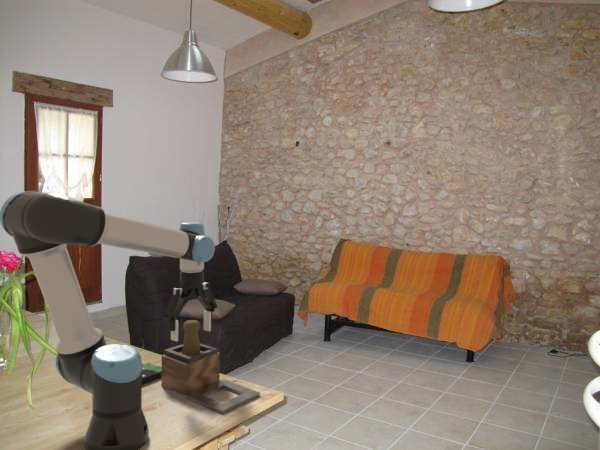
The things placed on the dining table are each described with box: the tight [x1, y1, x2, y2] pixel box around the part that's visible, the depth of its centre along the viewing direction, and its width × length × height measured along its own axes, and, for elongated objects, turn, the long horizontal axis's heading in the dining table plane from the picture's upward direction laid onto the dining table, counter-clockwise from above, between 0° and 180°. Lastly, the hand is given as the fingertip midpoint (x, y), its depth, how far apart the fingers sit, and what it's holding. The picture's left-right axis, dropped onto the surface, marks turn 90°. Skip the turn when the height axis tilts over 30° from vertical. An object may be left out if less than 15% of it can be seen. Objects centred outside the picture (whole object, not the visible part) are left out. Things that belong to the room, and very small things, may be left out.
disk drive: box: [142, 362, 162, 386], centre depth 163 cm, size 10×3×15 cm
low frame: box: [185, 378, 261, 415], centre depth 151 cm, size 16×16×1 cm
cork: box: [182, 319, 201, 357], centre depth 159 cm, size 6×6×11 cm
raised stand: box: [161, 342, 221, 397], centre depth 159 cm, size 14×12×12 cm
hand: (191, 335), depth 158 cm, fingers open, 13 cm apart
